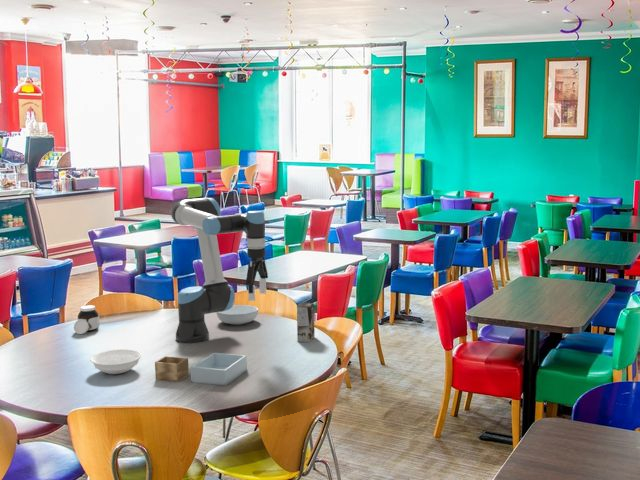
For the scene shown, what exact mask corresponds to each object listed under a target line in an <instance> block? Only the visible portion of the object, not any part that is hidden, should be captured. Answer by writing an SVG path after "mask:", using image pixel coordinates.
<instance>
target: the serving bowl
mask: <svg viewBox="0 0 640 480" xmlns="http://www.w3.org/2000/svg"><path fill="white" fill-rule="evenodd" d="M215 313H216V316H217V318H218V320H219V321H221V322H222V323H224V324H228V325H232V326H233V325H234V326H235V325H236V326H240V325H245V324H248V323H251V322H252V321H254V320H255V319H256V318H257V316H258V314H259V308H258V307H257V306H254V305H248V304H233V306H232V308H231V309H229V310H226V311H222V312H215Z"/></svg>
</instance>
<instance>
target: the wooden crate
mask: <svg viewBox="0 0 640 480" xmlns="http://www.w3.org/2000/svg"><path fill="white" fill-rule="evenodd" d="M189 371H190V370H189V358H188V357H178V356H177V357H176V356H168V355H166V356H163V357H161V358H160V359H158V360H157V361H154V373H155V375H154V376H155V380H156V381H163V382H164V381H165V382H174V383H180V382H182V381H183V380H184V379H186V378H187V377H188V376H190V373H189Z"/></svg>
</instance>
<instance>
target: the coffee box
mask: <svg viewBox="0 0 640 480" xmlns="http://www.w3.org/2000/svg"><path fill="white" fill-rule="evenodd" d="M296 327H297V330H296V331H297V332H296V335H297V338H296V339H297V340H296V341H297V342H298V343H299V342H303V343H311V342H312V341H313V340H314V338H315V335H316V334H315V333H316V332H315V303H314V302H300V303H299V304H298V306H296Z"/></svg>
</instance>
